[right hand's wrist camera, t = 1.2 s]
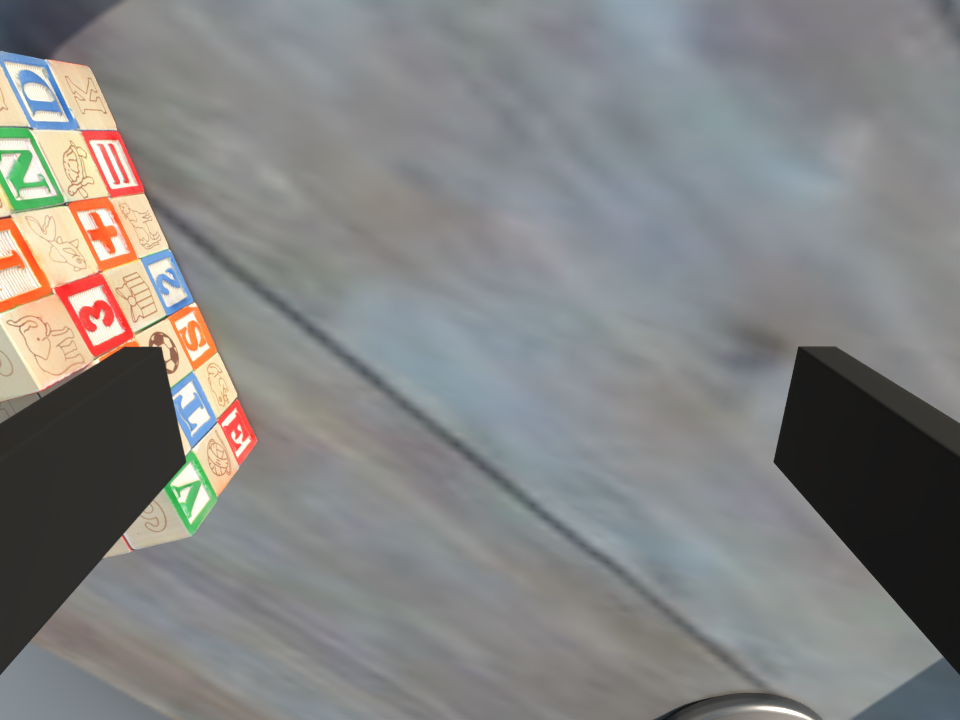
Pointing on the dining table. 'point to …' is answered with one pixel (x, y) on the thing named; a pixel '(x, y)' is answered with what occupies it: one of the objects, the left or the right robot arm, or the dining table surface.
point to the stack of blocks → (100, 283)
